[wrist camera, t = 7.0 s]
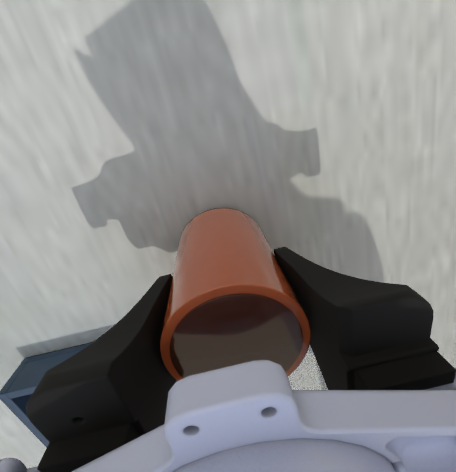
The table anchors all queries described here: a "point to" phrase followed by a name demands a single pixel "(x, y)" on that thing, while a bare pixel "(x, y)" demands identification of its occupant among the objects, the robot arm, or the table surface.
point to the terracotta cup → (230, 300)
